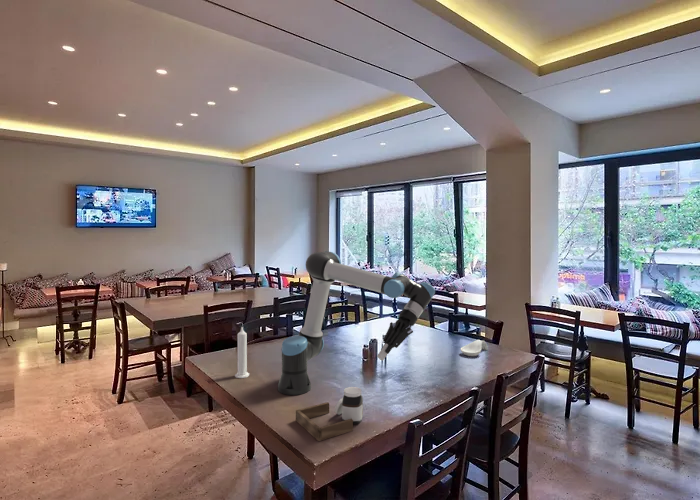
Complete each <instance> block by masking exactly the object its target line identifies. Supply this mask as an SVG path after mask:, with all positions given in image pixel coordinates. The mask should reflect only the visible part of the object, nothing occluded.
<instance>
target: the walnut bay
mask: <svg viewBox="0 0 700 500" xmlns="http://www.w3.org/2000/svg"><path fill="white" fill-rule="evenodd" d="M326 414H330V402H328V401H326V402H321V403H319V404H314V405H311V406H307V407H304V408H299V409H296V410H295V422H297V423H298V424H299V425H300V426H301V427H302V428H303V429H305V430H306V431H307V432H308V433H309V434H310V435H311V436H312V437H313V438H314V439H316V440H317V441H318V442H321V441H323V440H328V439H330V438H333V437H334V438H335V437H337V436H341V435H343V434H347V433H350V432H353V431H354V424H353V419H348V420H344V421H343V420H342V421H338V422H336V423H332V424H331V423H330V424H327V425H325V426H322V427H320V426H319V424H316V423H315V422H314V421H313V420H312V418H317V417H320V416H323V415H326Z"/></svg>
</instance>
